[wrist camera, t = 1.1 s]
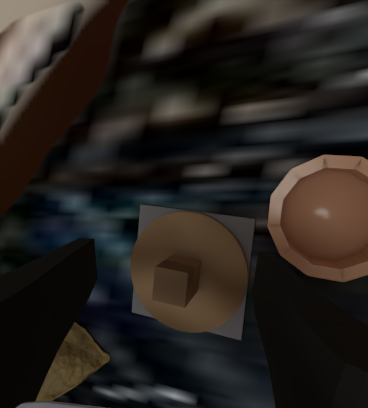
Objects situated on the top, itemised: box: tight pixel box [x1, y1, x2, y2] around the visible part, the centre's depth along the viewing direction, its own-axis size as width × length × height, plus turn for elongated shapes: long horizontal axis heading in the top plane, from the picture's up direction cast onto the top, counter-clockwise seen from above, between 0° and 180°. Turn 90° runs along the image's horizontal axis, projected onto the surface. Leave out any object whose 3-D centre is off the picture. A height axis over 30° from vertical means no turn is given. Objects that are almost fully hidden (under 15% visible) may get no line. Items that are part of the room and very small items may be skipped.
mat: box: [132, 204, 255, 340], centre depth 24 cm, size 10×10×1 cm
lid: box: [131, 211, 248, 333], centre depth 22 cm, size 10×10×4 cm
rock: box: [35, 322, 110, 402], centre depth 26 cm, size 11×9×10 cm
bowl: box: [267, 155, 368, 282], centre depth 20 cm, size 8×8×3 cm
